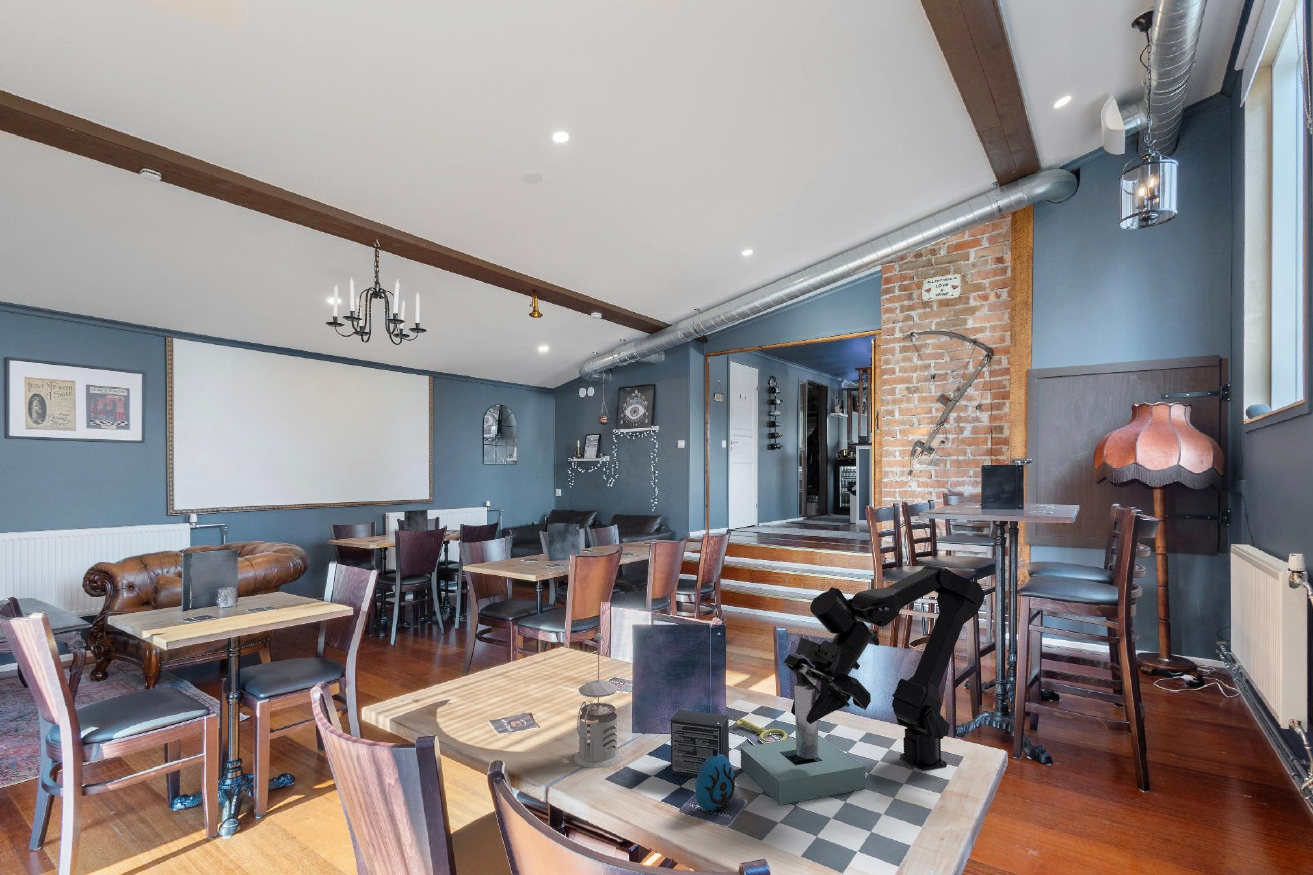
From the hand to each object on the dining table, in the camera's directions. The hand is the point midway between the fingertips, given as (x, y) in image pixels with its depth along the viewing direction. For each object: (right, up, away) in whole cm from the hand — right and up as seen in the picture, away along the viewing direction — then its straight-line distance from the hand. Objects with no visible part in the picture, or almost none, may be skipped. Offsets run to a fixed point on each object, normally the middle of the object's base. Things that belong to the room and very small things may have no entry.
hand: (800, 717), depth 117 cm
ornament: (-16, -13, -6) cm, 22 cm away
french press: (-39, -15, +14) cm, 43 cm away
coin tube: (+1, -7, 0) cm, 7 cm away
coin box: (+1, -14, +5) cm, 15 cm away
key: (-3, -16, +26) cm, 30 cm away
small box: (-18, -14, +8) cm, 24 cm away
